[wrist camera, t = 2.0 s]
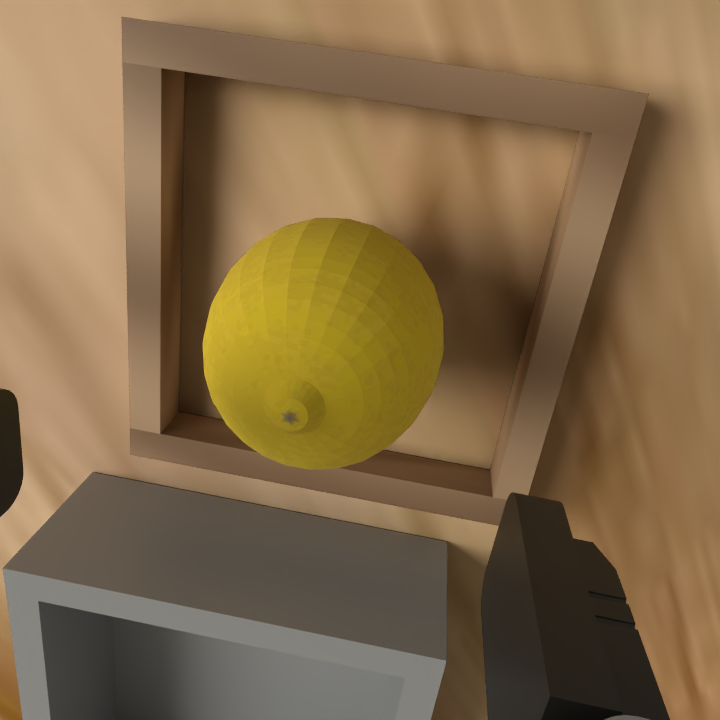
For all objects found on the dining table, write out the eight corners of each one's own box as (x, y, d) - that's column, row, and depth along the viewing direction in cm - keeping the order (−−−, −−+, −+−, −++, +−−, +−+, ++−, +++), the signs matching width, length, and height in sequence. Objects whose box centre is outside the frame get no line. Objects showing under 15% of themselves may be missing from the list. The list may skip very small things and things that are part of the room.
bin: (92, 472, 23) (2, 568, 18) (446, 541, 22) (446, 660, 17) (104, 712, 28) (37, 832, 23) (390, 775, 27) (377, 913, 22)
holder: (148, 23, 16) (121, 16, 15) (631, 94, 16) (648, 93, 14) (150, 431, 22) (130, 454, 20) (513, 500, 21) (517, 529, 19)
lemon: (244, 339, 20) (124, 485, 12) (288, 167, 17) (172, 222, 10) (409, 396, 20) (384, 575, 12) (474, 232, 17) (492, 333, 10)
